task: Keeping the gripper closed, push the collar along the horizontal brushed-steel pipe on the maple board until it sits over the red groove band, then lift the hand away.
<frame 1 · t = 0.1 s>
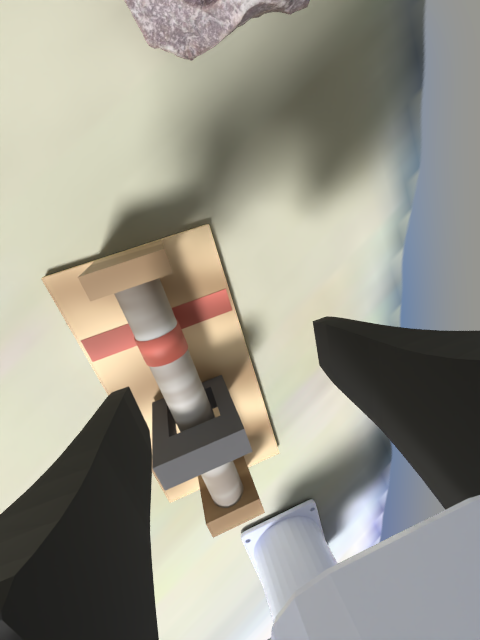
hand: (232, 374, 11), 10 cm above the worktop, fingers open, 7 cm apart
pipe rig: (185, 380, 22), on the worktop
collar: (197, 424, 19), point 4 cm above the worktop, slide at 0.0 cm
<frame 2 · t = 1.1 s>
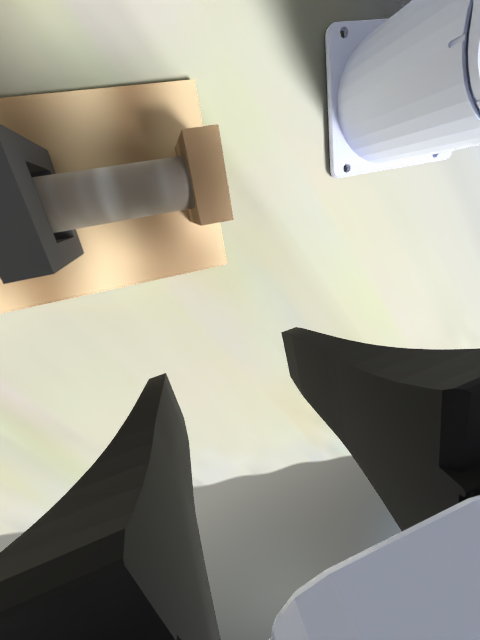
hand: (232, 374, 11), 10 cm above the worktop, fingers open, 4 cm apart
pipe rig: (34, 211, 17), on the worktop
collar: (28, 207, 13), point 4 cm above the worktop, slide at 0.0 cm
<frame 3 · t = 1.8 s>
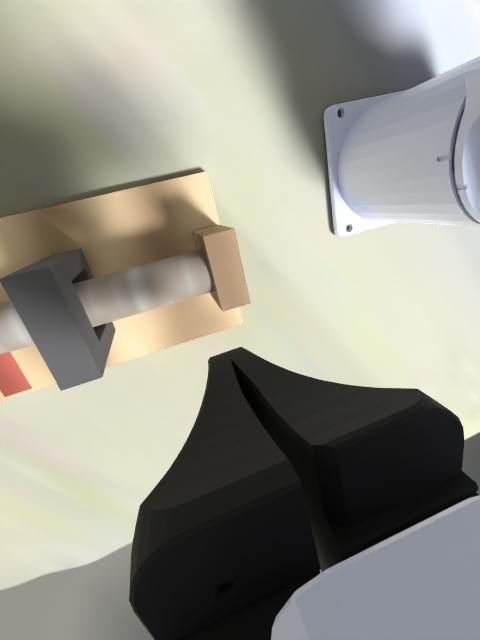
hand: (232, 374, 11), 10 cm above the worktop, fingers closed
pipe rig: (69, 296, 18), on the worktop
collar: (72, 311, 15), point 4 cm above the worktop, slide at 0.0 cm
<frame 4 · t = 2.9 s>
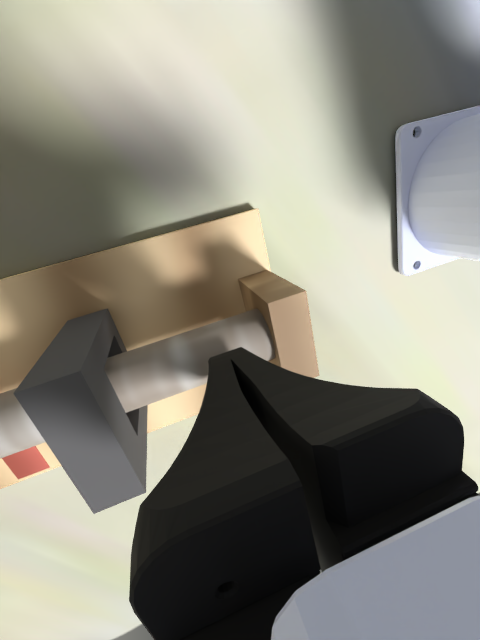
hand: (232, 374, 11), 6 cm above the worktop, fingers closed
pipe rig: (93, 360, 15), on the worktop
collar: (101, 395, 12), point 4 cm above the worktop, slide at 0.0 cm
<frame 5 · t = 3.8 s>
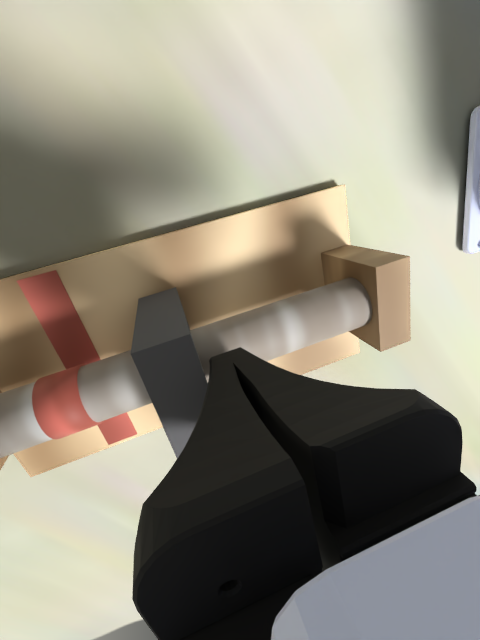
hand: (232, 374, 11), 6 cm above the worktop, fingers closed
pipe rig: (182, 330, 16), on the worktop
collar: (179, 368, 13), point 4 cm above the worktop, slide at 1.5 cm, touching gripper
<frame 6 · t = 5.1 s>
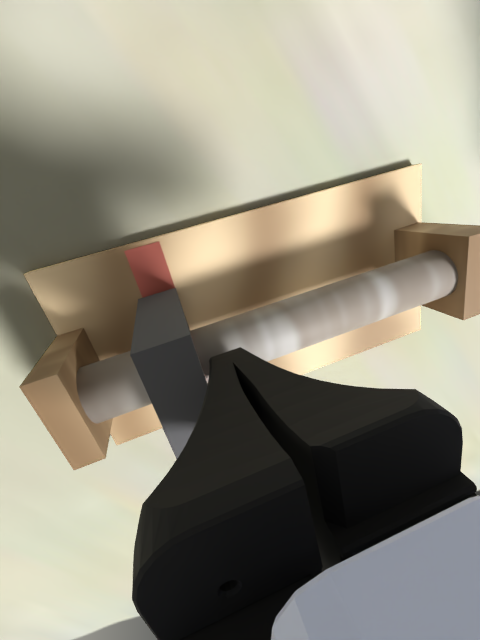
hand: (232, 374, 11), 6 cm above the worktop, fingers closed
pipe rig: (261, 304, 17), on the worktop
collar: (179, 368, 13), point 4 cm above the worktop, slide at 6.1 cm, touching gripper
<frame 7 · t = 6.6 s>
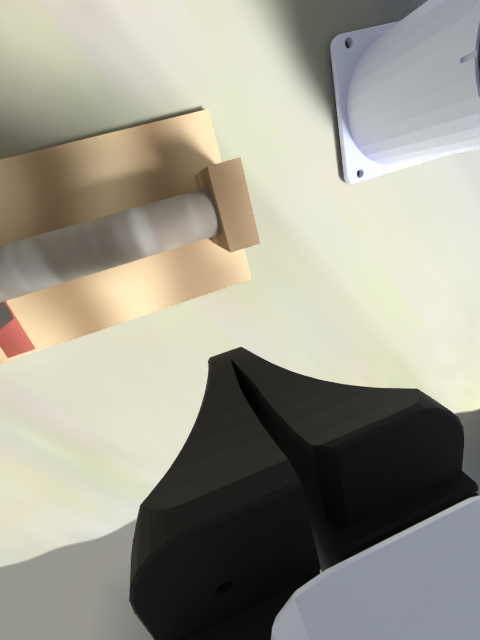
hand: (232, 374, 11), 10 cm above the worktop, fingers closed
pipe rig: (70, 250, 18), on the worktop
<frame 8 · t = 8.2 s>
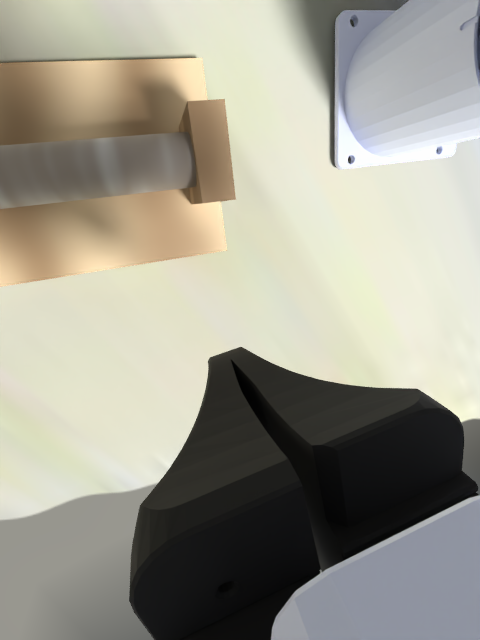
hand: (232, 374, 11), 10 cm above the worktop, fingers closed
pipe rig: (31, 183, 16), on the worktop
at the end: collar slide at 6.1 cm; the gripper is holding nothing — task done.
